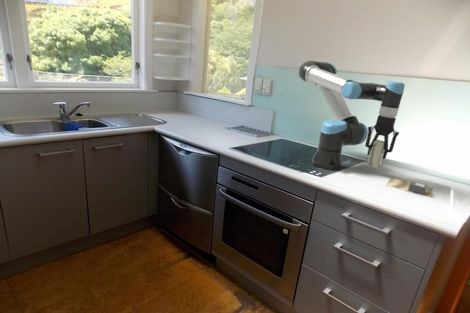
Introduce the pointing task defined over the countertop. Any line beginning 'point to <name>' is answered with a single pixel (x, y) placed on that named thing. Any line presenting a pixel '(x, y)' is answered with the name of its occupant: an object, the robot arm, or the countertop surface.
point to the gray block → (417, 188)
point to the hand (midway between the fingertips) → (374, 163)
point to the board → (406, 186)
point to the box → (376, 154)
